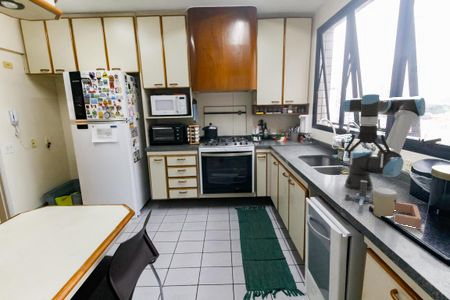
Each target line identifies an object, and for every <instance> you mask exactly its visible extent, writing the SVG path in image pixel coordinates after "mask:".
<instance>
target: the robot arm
mask: <svg viewBox="0 0 450 300" xmlns="http://www.w3.org/2000/svg"><path fill="white" fill-rule="evenodd" d="M380 96H381V95H380V94H379V93H365V94H362V96H361V98H347V99H345V100H344V101H343V102H342V110H343V111H344V112H345V113H360V118H359V119H360V120H359V124H360V125H359V132H358V134H356V133H352V136H351V139H350V141H349V142H348V144H347V146H346V147H345V148H344V151H345V152H347V153H348V154H347V156H348V159H349V168H348V169H349V170H348V175H347V177H346V179H345V183H344V185H345V187H346V188H350V189H353V190H357V191H360V181H361V180H364V181H367V191H369V190H370V191H371V190H373V186H374V185H373V181H372V178H371V174H374V175H378V176H379V175H380V176H383V177H390V178H395V177H397V176H398V175H400V174H401V172H402V170H403V168H404V164H405V163H404V159H403V157H402V154H401V152H402V150H403V147H404V145H405V142H406V139H407V138H408V135H409V133H410V131H411V127H412V125H413V122H416V121H418V119H419V117H423V116H424V115H425V113H426V101H425V98H424V97H423V96H416V95H415V96H406V97H405V96H404V97H402V96H401V97H389V98H388V97H385V96H381V97H380ZM379 115H384V116H390V117H394V118H395V120H394V122H393V125H392V127H391V129H390V132H389V134H388V137H387V138H386V139H385V135H384V134H378V123H379ZM357 138H358V139H359V140H358V141H357V142H356V143H355V144H354V145H352V144H353V142H354V140H355V139H357ZM378 138H379V139H378ZM377 139H378V140H381V142H382V144H383V147H382V146H381V145H380V144H379V143H378V141H377ZM361 143H362V144H372V143H373V145H375V146H376V148H377V149H378V152H377V153H375V154H374V153H373V151H372V150H364V149H363V150H355V149H356V148H357V147H358V146H359V145H360V144H361ZM351 145H352V146H351ZM350 147H351V148H350ZM354 150H355V151H354Z"/></svg>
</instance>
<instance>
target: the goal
mask: <svg viewBox="0 0 450 300" xmlns="http://www.w3.org/2000/svg"><path fill="white" fill-rule="evenodd" d="M402 202H403V201H400V202H399V201H396V204H395V209H394V210H396V211H400V212H399V213H397V212H396V211H395V212H396V213H395V212H394V215H395V216H394V223H395V222H397V223H399V224H403V225H408V226H412V227H416V228H420V229H421V227H422V217H421V214H420V211H419V208H418V205H417V204H413V203H408V202H405V203H402ZM402 212H405V213H404V214H403V213H402ZM401 213H402V214H401ZM407 213H410V214H409V215H408V214H407ZM406 214H407V215H406Z"/></svg>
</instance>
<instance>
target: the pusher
mask: <svg viewBox="0 0 450 300" xmlns="http://www.w3.org/2000/svg"><path fill="white" fill-rule="evenodd" d="M367 191H368V190H367V181H364V180H361V181H360V190H359V193H356V195H355V198H356V199H360V202H359V205H358V213H359V214H362V212H363V207H364V200H367V201H369V200H370V195H369V194H367Z"/></svg>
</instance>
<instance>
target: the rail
mask: <svg viewBox="0 0 450 300" xmlns="http://www.w3.org/2000/svg"><path fill="white" fill-rule="evenodd" d="M344 199H345V200H347V201H352V202H353V201H354V202H358V203H360V199H356V196H355V197H353V196H351V193H350V192H349V193H348V192H346V193H345V198H344ZM398 202H402V203H406V202H405V201H398ZM364 203H365V204H370V205H373V200H371V199H369V201H367V200H364ZM364 203H363V204H364Z"/></svg>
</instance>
